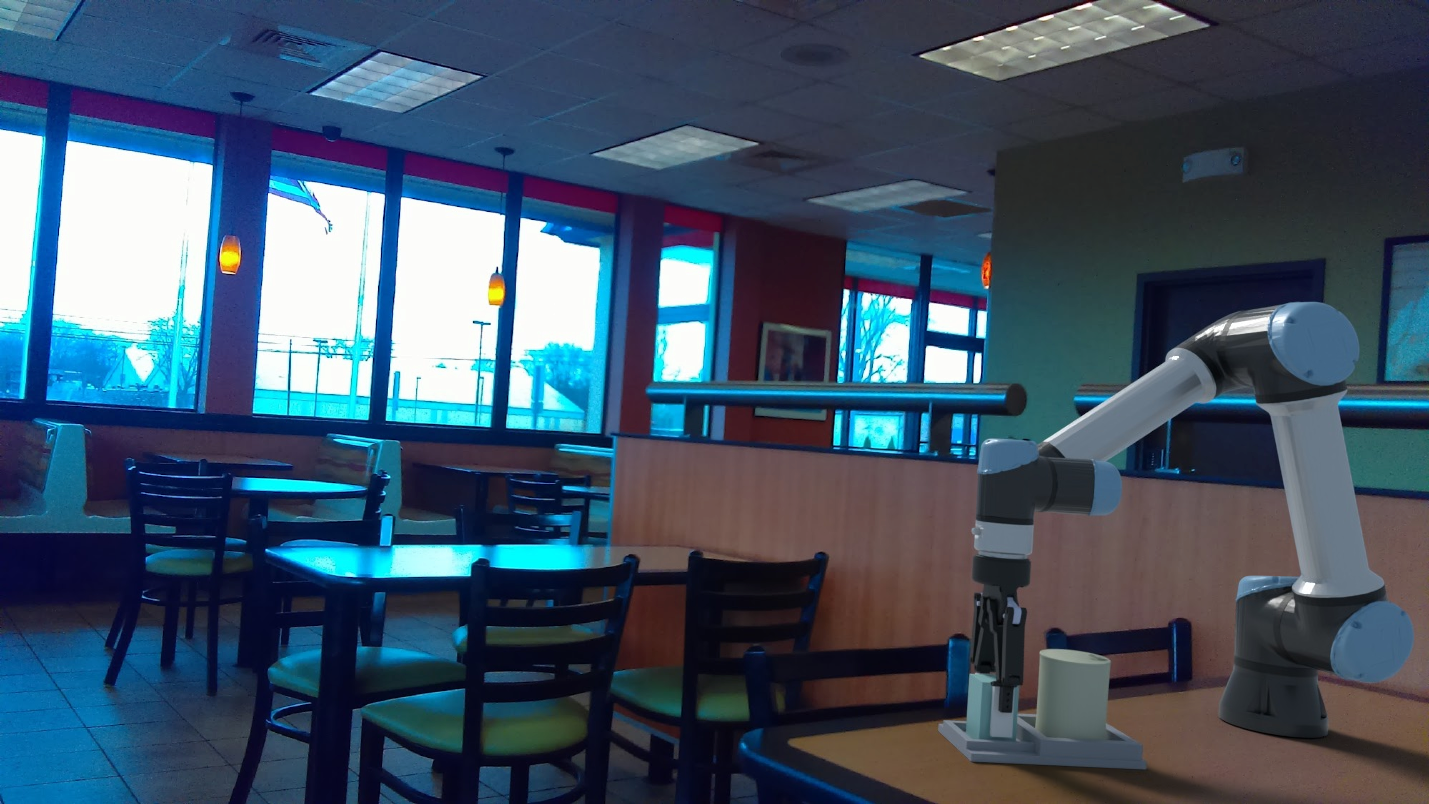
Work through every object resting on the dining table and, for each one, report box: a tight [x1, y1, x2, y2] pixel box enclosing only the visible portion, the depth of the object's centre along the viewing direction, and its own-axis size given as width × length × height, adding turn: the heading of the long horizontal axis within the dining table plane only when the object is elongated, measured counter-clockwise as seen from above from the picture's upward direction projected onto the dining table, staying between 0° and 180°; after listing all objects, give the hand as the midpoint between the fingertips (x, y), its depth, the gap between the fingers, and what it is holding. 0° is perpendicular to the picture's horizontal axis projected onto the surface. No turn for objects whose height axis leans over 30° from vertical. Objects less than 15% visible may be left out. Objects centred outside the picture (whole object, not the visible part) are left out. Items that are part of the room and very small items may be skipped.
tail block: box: [966, 673, 1020, 741], centre depth 144 cm, size 5×5×8 cm
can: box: [1035, 648, 1112, 740], centre depth 145 cm, size 9×9×12 cm
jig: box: [937, 712, 1148, 770], centre depth 144 cm, size 23×14×3 cm, turn 95°
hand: (991, 728), depth 143 cm, fingers open, 6 cm apart
